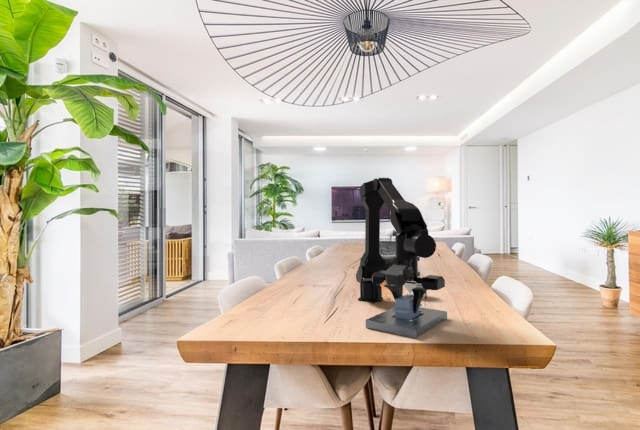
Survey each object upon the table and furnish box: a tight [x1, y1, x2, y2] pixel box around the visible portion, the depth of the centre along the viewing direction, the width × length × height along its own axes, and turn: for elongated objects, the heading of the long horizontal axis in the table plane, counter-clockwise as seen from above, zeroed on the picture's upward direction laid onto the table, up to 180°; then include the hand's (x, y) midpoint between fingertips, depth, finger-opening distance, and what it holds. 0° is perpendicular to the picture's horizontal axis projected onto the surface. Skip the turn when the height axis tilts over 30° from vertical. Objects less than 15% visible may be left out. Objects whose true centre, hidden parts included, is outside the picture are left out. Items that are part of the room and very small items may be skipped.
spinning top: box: [403, 268, 422, 294], centre depth 132 cm, size 8×8×12 cm
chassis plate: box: [365, 306, 448, 339], centre depth 99 cm, size 20×14×2 cm
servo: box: [392, 293, 423, 321], centre depth 99 cm, size 4×10×6 cm, turn 141°
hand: (407, 311), depth 99 cm, fingers closed on servo, 4 cm apart
